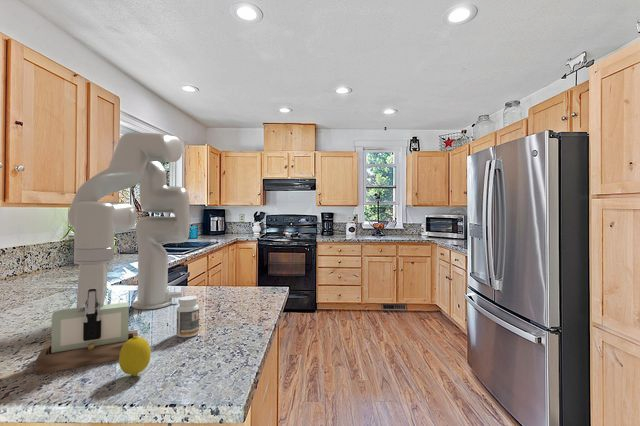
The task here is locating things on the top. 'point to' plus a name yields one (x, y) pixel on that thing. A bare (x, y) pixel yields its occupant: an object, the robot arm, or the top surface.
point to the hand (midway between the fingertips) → (93, 335)
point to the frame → (71, 327)
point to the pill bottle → (187, 317)
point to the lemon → (134, 356)
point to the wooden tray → (78, 356)
